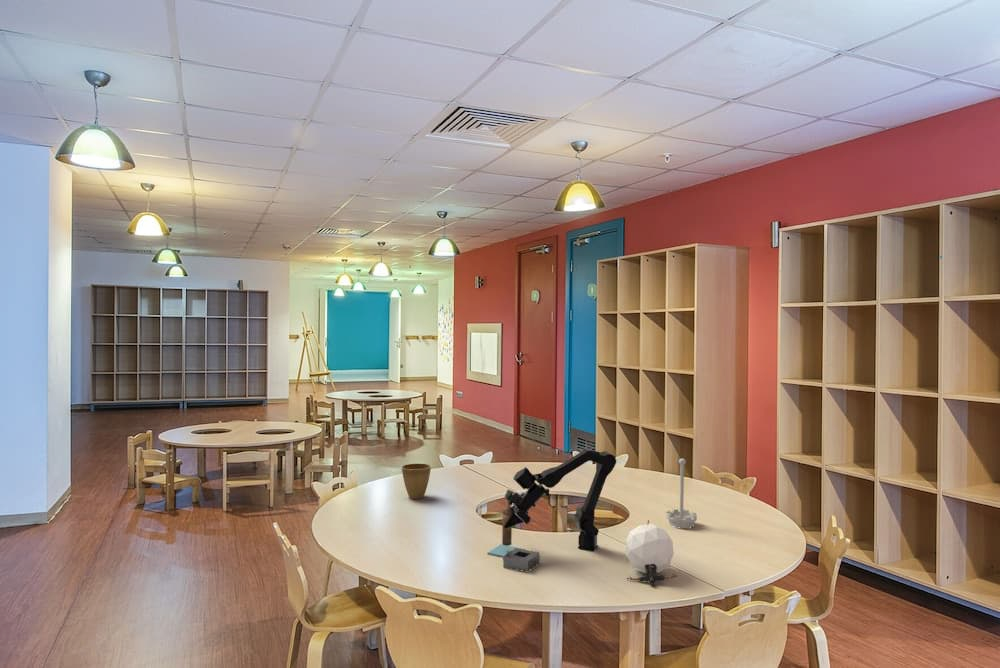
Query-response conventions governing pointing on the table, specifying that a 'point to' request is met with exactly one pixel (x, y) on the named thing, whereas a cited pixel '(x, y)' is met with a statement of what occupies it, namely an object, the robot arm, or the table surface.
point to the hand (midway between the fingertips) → (503, 526)
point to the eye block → (521, 559)
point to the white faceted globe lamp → (649, 552)
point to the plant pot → (416, 479)
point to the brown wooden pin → (508, 531)
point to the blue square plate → (501, 550)
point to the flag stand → (681, 507)
